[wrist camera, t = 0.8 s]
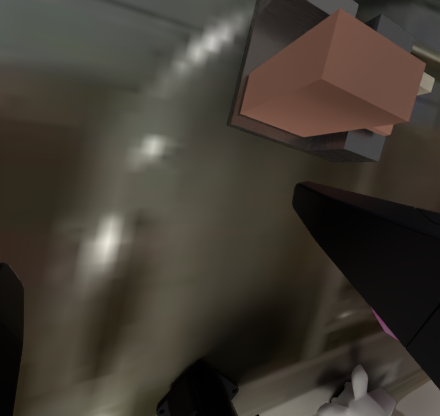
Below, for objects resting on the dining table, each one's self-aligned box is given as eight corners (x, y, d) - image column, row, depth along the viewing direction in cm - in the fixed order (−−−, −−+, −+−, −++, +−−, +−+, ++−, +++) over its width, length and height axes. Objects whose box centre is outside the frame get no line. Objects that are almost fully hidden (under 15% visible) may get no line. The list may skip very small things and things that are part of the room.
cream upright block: (392, 101, 22) (430, 92, 19) (376, 92, 21) (414, 82, 18) (395, 89, 22) (434, 78, 19) (379, 80, 21) (418, 68, 18)
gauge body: (332, 162, 28) (379, 161, 23) (226, 125, 23) (255, 114, 18) (363, 50, 27) (419, 24, 22) (259, -12, 22) (299, -64, 17)
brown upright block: (337, 149, 27) (451, 142, 17) (239, 113, 22) (321, 78, 13) (347, 116, 26) (467, 90, 17) (249, 73, 22) (340, 8, 13)
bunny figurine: (369, 479, 34) (330, 445, 27) (337, 439, 38) (297, 401, 32) (413, 423, 35) (387, 377, 29) (378, 390, 40) (348, 344, 33)
